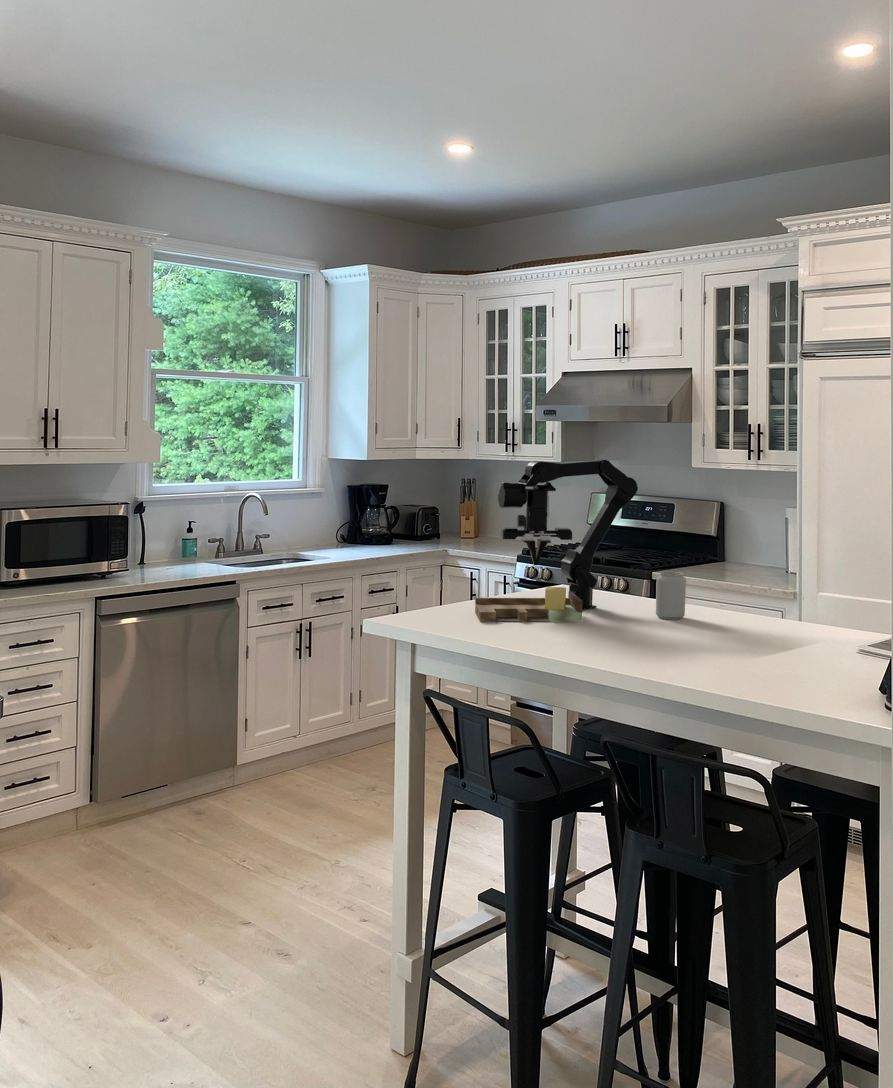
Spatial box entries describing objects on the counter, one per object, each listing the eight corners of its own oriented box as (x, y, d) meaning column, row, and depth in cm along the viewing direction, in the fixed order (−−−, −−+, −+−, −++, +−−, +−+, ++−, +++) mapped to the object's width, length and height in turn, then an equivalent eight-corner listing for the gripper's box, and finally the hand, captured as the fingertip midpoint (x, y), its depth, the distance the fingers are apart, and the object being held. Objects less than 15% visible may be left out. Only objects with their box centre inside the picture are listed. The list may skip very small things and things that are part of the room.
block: (565, 606, 257) (566, 587, 256) (564, 609, 252) (564, 590, 251) (546, 605, 257) (546, 586, 257) (544, 608, 253) (545, 589, 252)
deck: (571, 612, 261) (572, 592, 261) (581, 622, 249) (582, 600, 248) (475, 612, 260) (475, 592, 259) (480, 621, 247) (480, 600, 246)
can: (682, 615, 260) (684, 570, 259) (686, 620, 253) (688, 574, 251) (653, 614, 261) (655, 570, 260) (657, 619, 254) (658, 574, 252)
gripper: (565, 505, 272) (563, 561, 274) (498, 505, 271) (497, 561, 272) (573, 509, 261) (571, 567, 263) (504, 508, 260) (502, 566, 261)
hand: (535, 565), depth 265 cm, fingers closed
